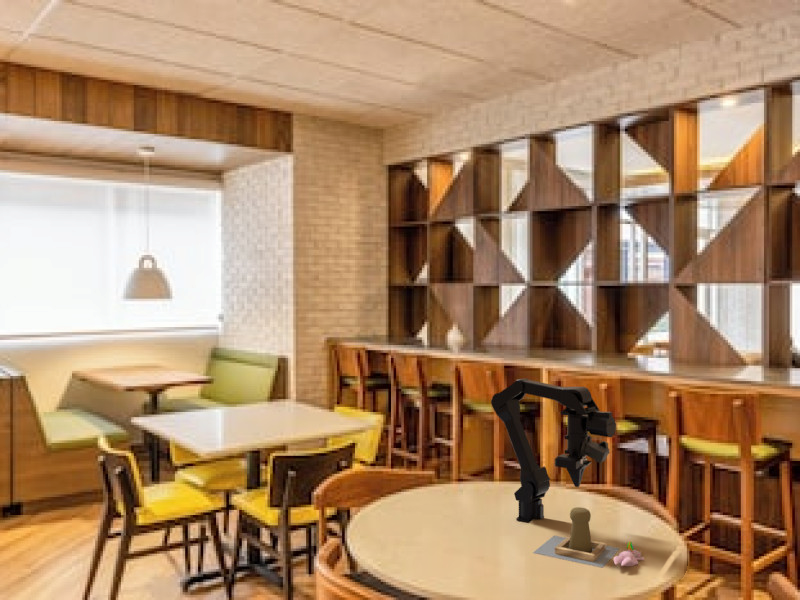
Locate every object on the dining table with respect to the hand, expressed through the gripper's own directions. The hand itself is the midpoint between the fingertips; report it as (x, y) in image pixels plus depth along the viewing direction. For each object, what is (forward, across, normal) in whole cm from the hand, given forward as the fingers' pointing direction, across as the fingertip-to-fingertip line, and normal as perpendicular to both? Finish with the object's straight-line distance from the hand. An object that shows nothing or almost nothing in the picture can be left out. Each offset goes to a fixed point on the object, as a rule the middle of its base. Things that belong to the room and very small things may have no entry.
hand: (577, 486), depth 194 cm
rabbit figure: (+13, -16, -20) cm, 29 cm away
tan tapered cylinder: (+12, -16, -8) cm, 22 cm away
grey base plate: (+13, -17, -7) cm, 22 cm away
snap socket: (+12, -16, -8) cm, 22 cm away
